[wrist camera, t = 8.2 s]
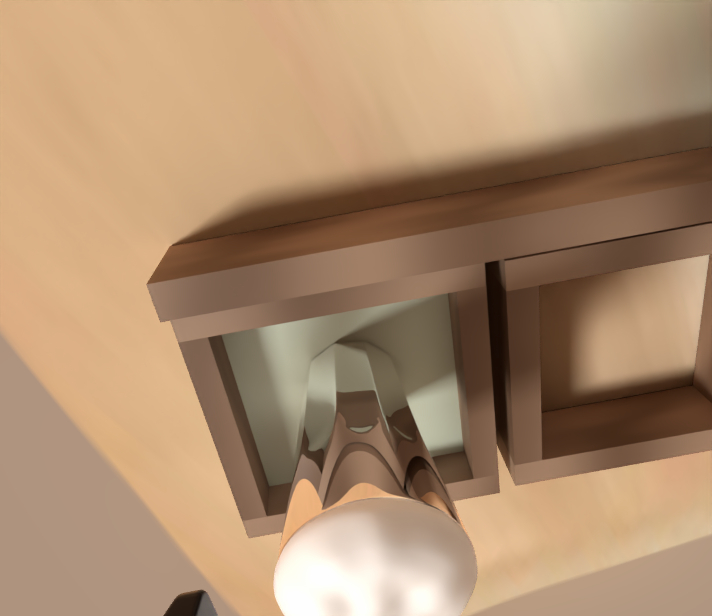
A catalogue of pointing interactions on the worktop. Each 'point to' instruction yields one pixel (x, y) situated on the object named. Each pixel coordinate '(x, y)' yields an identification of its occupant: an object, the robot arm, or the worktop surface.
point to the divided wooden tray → (439, 324)
